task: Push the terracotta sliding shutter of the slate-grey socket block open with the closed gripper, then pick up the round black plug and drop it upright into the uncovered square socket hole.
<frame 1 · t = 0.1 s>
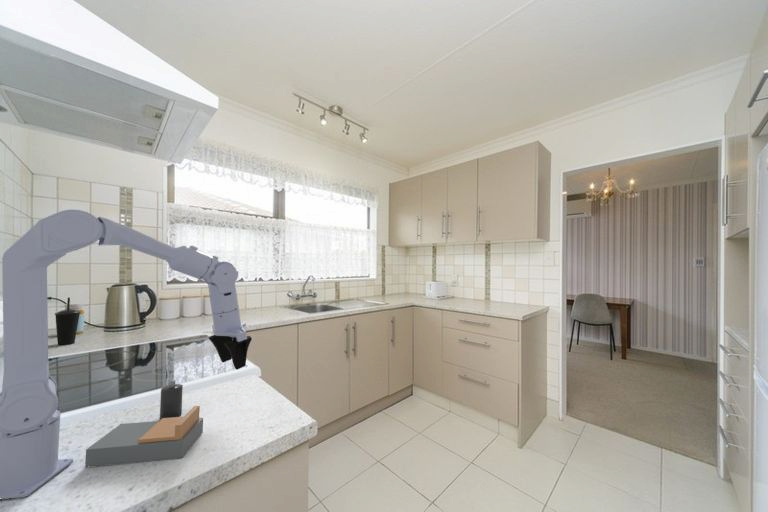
hand: (233, 364, 70), 11 cm above the worktop, tool pointing down, fingers open, 7 cm apart
shutter: (171, 422, 54), point 4 cm above the worktop, slide at 0.0 cm
socket block: (149, 448, 53), on the worktop
bottle: (72, 334, 139), on the worktop
drinking cup: (66, 344, 122), on the worktop
plug: (170, 416, 65), on the worktop
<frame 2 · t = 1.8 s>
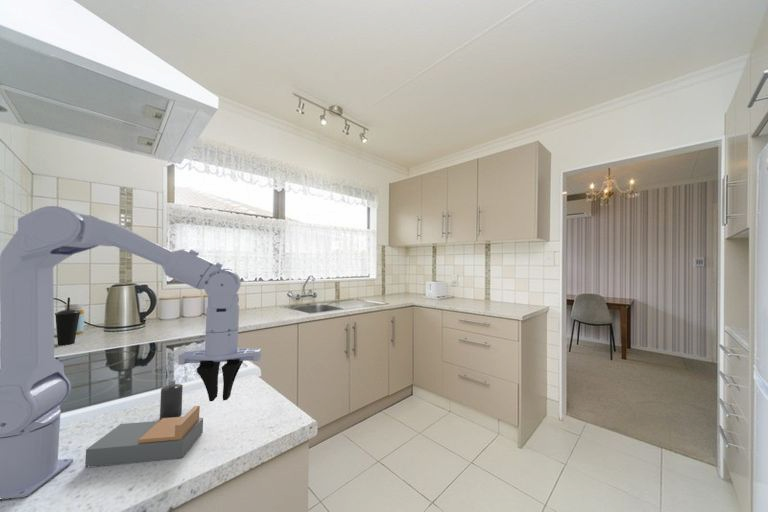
hand: (220, 398, 56), 8 cm above the worktop, tool pointing down, fingers closed
nothing on the worktop moved.
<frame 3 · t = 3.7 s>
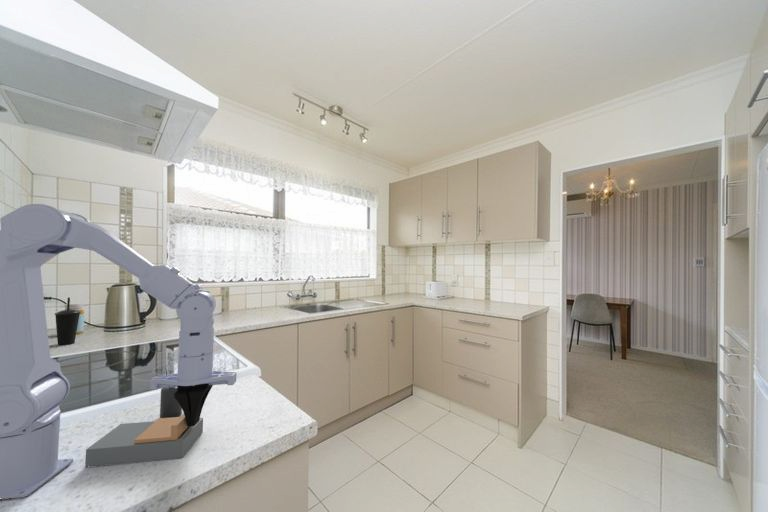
hand: (193, 423, 55), 4 cm above the worktop, tool pointing down, fingers closed
shutter: (167, 423, 54), point 4 cm above the worktop, slide at 0.7 cm, touching gripper
everything else where it was.
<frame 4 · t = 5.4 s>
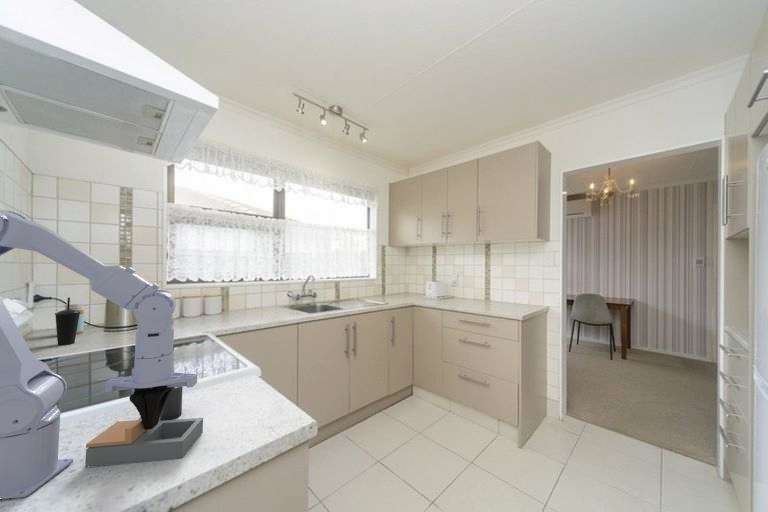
hand: (151, 426, 54), 4 cm above the worktop, tool pointing down, fingers closed
shutter: (124, 426, 53), point 4 cm above the worktop, slide at 7.9 cm, touching gripper
everything else where it was.
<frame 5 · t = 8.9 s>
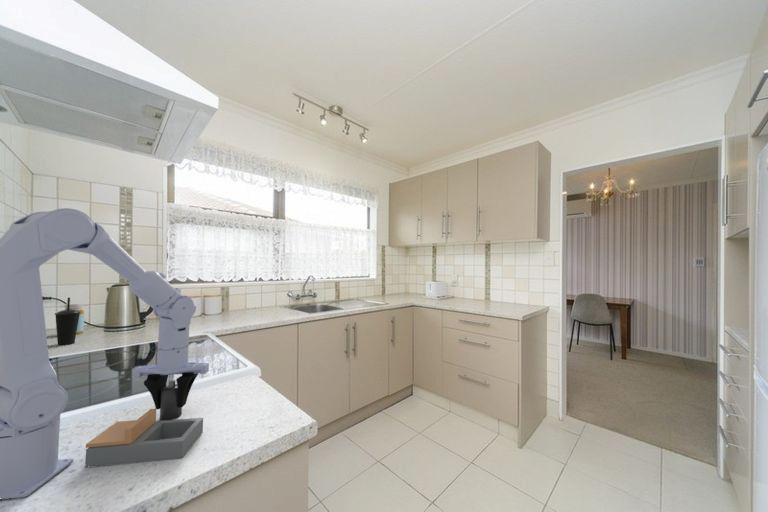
hand: (171, 406, 65), 2 cm above the worktop, tool pointing down, fingers closed on plug, 4 cm apart
shutter: (123, 426, 53), point 4 cm above the worktop, slide at 8.0 cm
plug: (170, 416, 65), on the worktop, touching gripper
everything else where it was.
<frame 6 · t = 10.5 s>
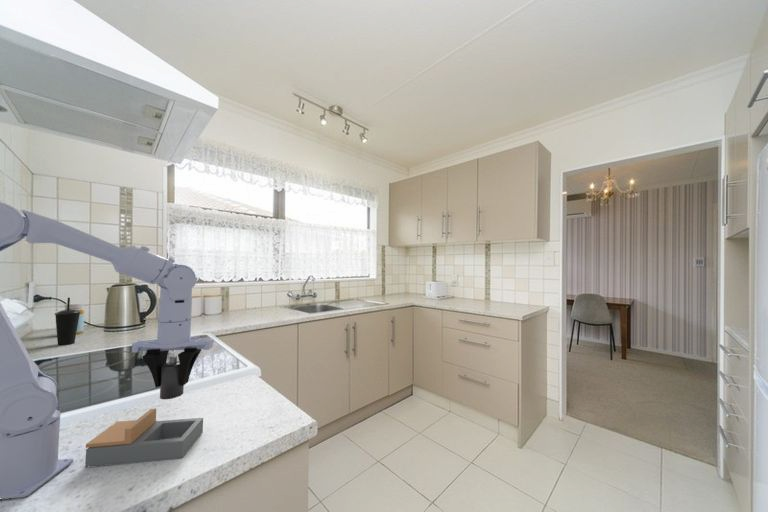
hand: (172, 384, 60), 9 cm above the worktop, tool pointing down, fingers closed on plug, 4 cm apart
plug: (171, 395, 60), point 7 cm above the worktop, touching gripper
everything else where it was.
when the fingers open (4 cm above the worktop, at t = 12.3 s): plug drops 2 cm, resting in socket block.
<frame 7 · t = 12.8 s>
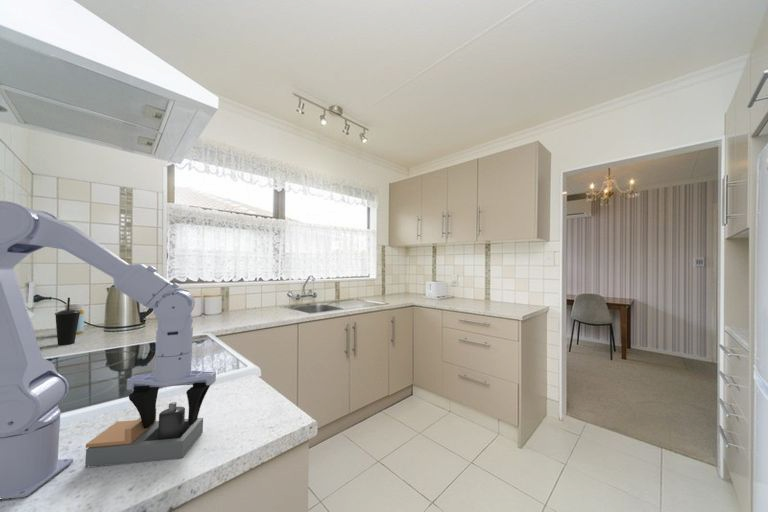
hand: (171, 423, 54), 4 cm above the worktop, tool pointing down, fingers open, 7 cm apart
shutter: (123, 426, 53), point 4 cm above the worktop, slide at 8.0 cm, touching gripper
plug: (170, 446, 54), resting in socket block
everything else where it was.
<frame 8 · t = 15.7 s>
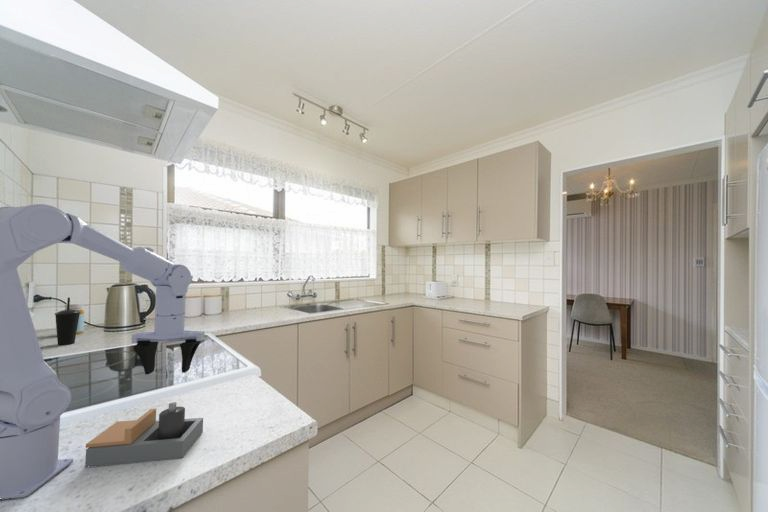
hand: (167, 372, 67), 9 cm above the worktop, tool pointing down, fingers open, 7 cm apart
shutter: (123, 426, 53), point 4 cm above the worktop, slide at 8.0 cm
everything else where it was.
at the end: plug 0.1 cm from the target spot on the socket block, point 0.0 cm above the socket block's base; plug tilted 0°; shutter slide at 8.0 cm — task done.
